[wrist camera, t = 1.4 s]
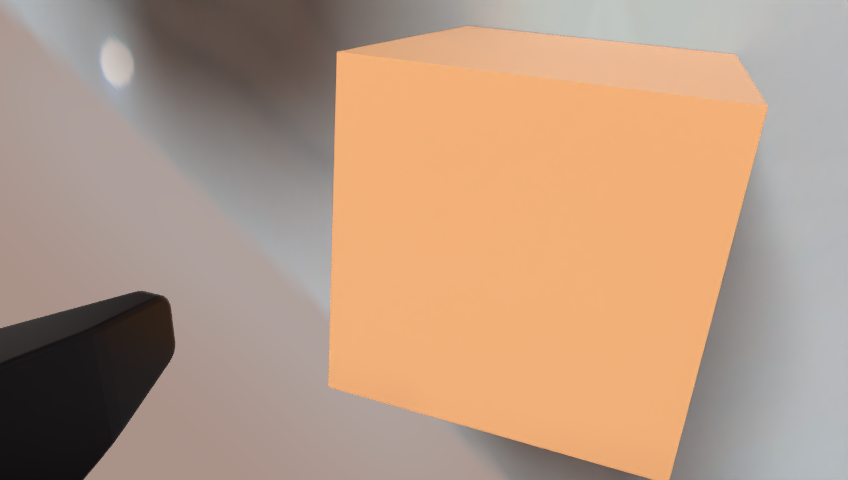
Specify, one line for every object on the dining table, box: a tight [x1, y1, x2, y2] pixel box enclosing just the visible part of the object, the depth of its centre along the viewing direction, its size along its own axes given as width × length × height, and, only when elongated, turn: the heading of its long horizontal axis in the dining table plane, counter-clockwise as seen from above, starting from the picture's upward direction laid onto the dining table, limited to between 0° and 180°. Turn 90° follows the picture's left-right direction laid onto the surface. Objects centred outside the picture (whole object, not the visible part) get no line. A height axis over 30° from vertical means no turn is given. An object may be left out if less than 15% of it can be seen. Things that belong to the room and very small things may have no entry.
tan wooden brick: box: [328, 26, 768, 480], centre depth 17 cm, size 8×8×9 cm
